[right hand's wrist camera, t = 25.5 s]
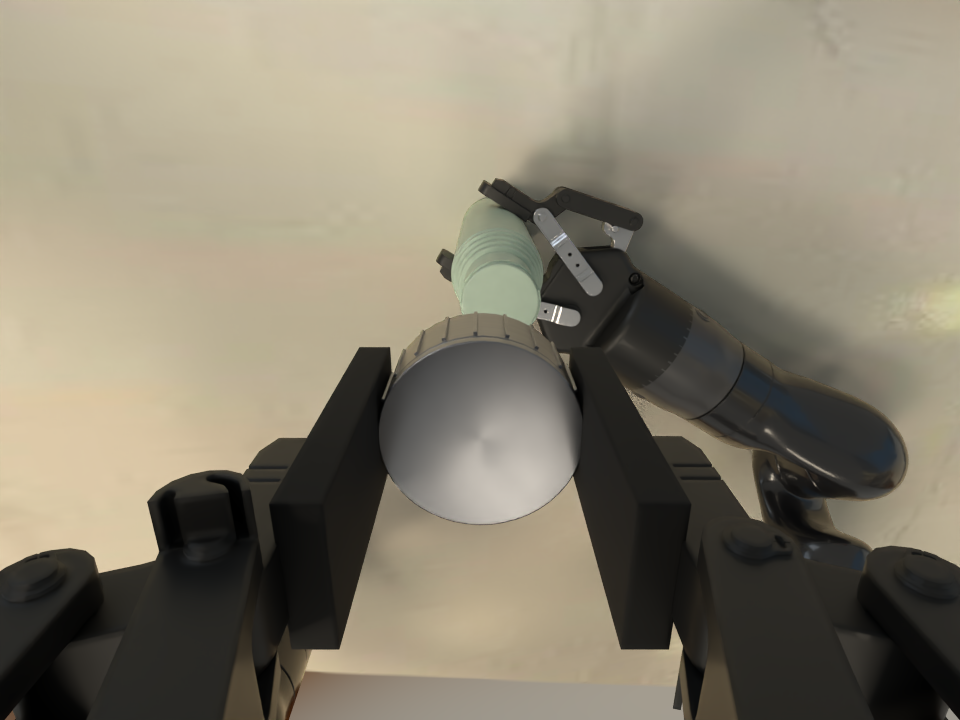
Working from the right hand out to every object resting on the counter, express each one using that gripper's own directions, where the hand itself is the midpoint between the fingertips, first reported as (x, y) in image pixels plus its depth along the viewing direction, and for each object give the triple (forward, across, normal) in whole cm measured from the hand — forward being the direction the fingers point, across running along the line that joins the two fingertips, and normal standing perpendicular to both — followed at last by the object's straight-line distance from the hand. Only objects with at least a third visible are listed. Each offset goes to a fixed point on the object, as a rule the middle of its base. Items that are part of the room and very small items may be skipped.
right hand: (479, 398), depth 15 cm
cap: (-2, 0, 0) cm, 2 cm away
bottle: (+33, +1, 0) cm, 33 cm away
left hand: (+26, -1, +1) cm, 26 cm away
